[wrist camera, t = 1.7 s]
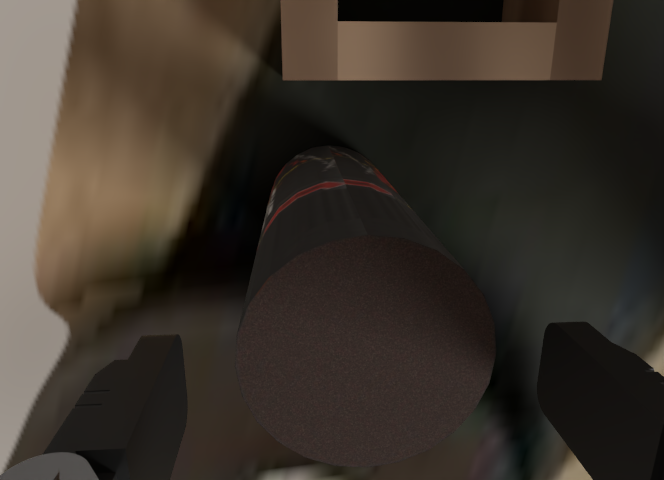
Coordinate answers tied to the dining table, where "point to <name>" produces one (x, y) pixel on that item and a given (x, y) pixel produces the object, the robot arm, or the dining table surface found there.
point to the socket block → (448, 44)
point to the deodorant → (357, 319)
